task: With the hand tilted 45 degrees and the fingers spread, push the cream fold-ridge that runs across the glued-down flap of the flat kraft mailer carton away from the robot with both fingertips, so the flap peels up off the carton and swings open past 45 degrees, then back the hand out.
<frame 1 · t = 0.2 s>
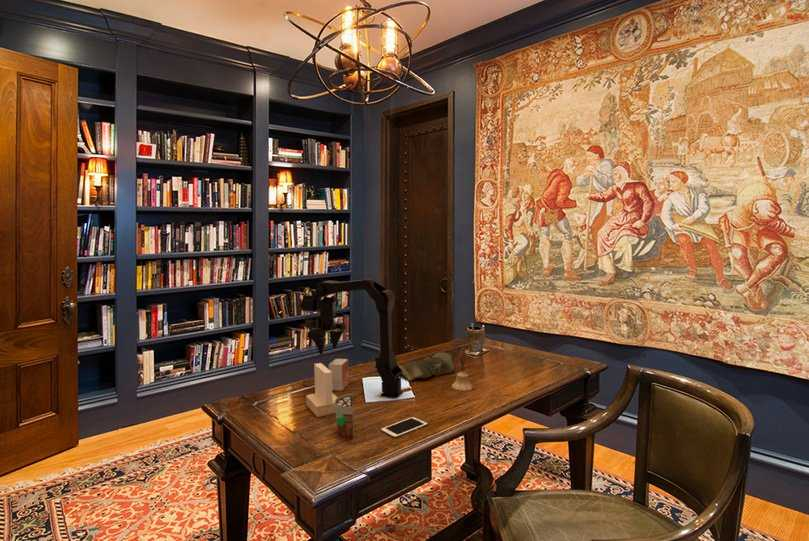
hand: (327, 351, 183), 14 cm above the table, tool pointing down, fingers open, 9 cm apart
small box: (339, 387, 184), on the table
hand bell: (462, 387, 183), on the table
food container: (343, 431, 145), on the table
carton: (324, 408, 163), on the table
flap: (323, 383, 162), point 9 cm above the table, hinge at 0.0°
cell phone: (404, 429, 147), on the table
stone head: (425, 373, 202), on the table
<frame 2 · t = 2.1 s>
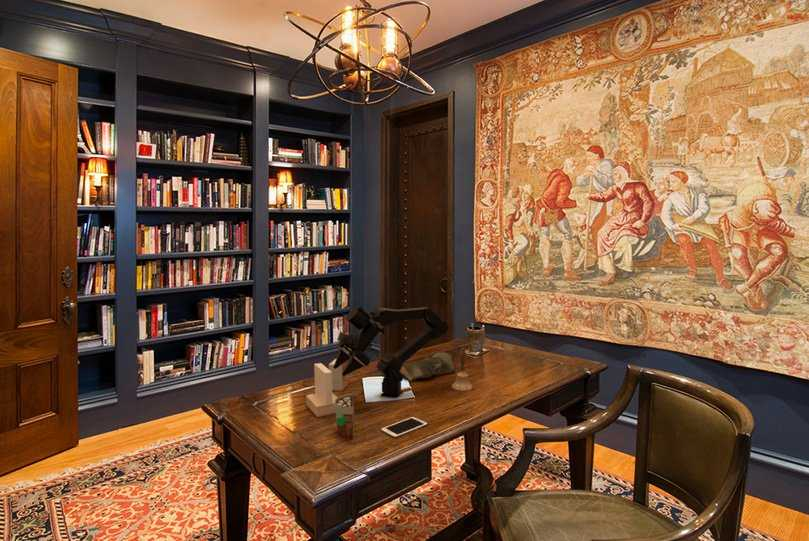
hand: (338, 371, 164), 12 cm above the table, tool tilted 45°, fingers open, 9 cm apart
nothing on the table moved.
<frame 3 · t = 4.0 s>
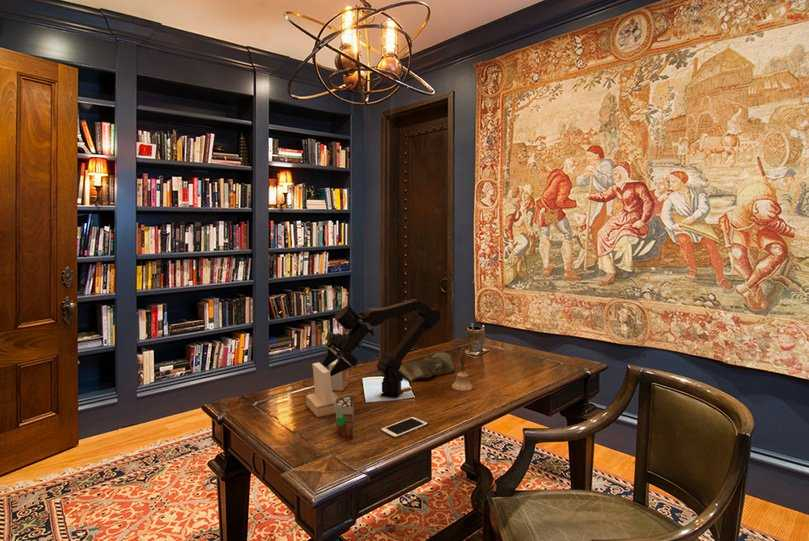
hand: (325, 371, 162), 13 cm above the table, tool tilted 45°
flap: (322, 383, 162), point 9 cm above the table, hinge at 3.4°, touching gripper
everything else where it was.
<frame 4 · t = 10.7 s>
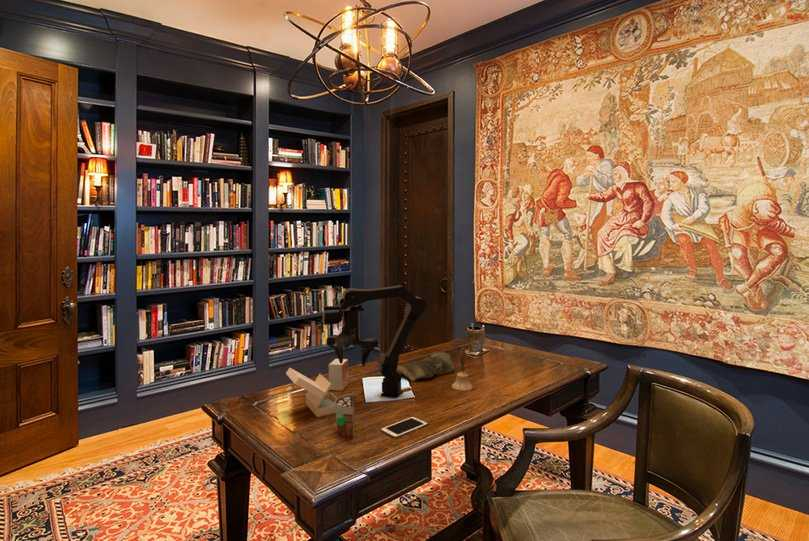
hand: (352, 364, 170), 13 cm above the table, tool pointing down, fingers open, 9 cm apart
flap: (305, 383, 159), point 10 cm above the table, hinge at 52.9°
everything else where it was.
at the end: flap at +53° (first picture: +0°); the gripper is holding nothing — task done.
